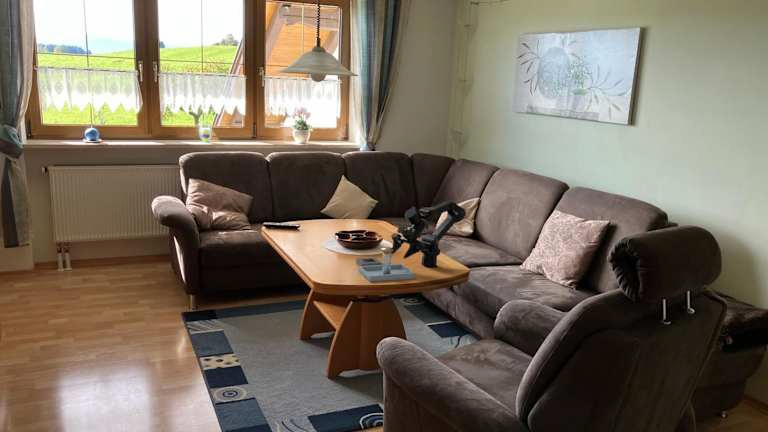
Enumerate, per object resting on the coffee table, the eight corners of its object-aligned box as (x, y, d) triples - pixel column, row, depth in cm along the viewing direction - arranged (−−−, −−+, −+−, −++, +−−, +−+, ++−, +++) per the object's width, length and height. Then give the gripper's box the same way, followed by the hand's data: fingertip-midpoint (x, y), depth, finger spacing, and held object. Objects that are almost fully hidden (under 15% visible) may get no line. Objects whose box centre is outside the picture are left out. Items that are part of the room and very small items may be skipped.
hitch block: (375, 262, 312) (375, 257, 311) (381, 267, 302) (381, 262, 302) (356, 263, 308) (356, 258, 308) (362, 268, 299) (362, 263, 299)
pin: (385, 271, 295) (386, 246, 292) (394, 273, 291) (395, 248, 289) (377, 273, 290) (378, 248, 288) (387, 276, 287) (388, 250, 285)
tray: (401, 268, 302) (402, 263, 301) (414, 278, 287) (414, 273, 287) (358, 271, 294) (358, 266, 294) (369, 281, 280) (369, 276, 279)
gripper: (394, 216, 300) (376, 241, 296) (420, 223, 286) (402, 250, 282) (406, 230, 307) (388, 255, 302) (432, 238, 293) (414, 264, 288)
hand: (397, 255), depth 293 cm, fingers open, 9 cm apart
